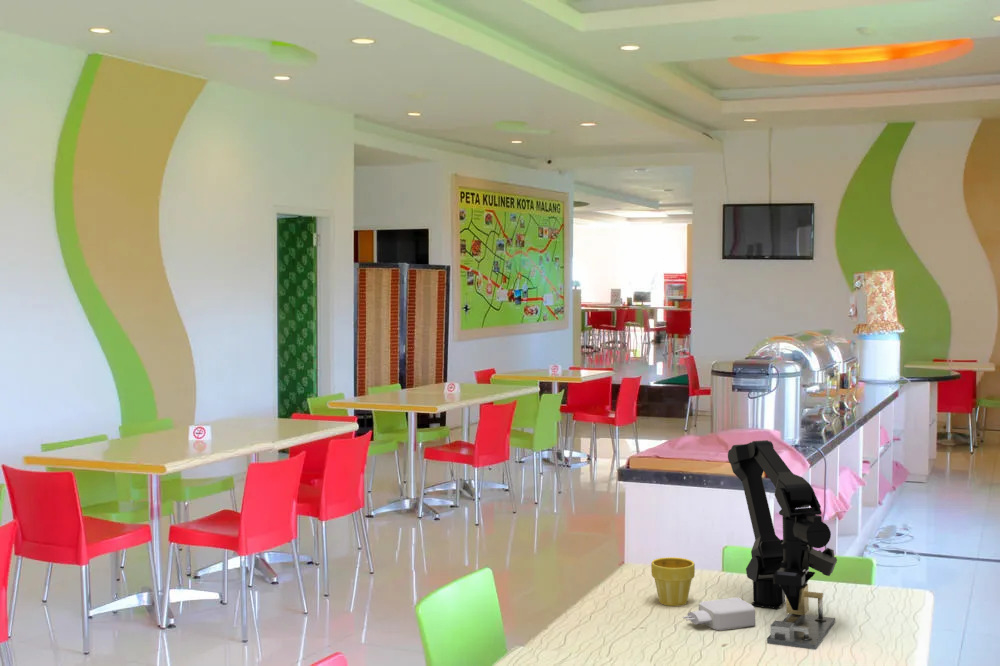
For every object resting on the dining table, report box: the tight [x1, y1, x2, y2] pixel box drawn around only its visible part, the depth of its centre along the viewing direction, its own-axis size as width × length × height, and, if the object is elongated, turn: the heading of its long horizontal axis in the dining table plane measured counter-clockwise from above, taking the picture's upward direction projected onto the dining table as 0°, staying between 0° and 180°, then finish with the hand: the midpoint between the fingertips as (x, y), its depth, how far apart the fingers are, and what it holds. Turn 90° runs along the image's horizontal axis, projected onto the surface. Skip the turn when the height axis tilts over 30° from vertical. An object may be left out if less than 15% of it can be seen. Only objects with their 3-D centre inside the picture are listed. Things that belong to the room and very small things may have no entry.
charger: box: [682, 597, 756, 632], centre depth 237 cm, size 5×9×15 cm
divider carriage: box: [785, 583, 824, 620], centre depth 236 cm, size 8×4×7 cm, turn 61°
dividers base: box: [766, 613, 836, 650], centre depth 229 cm, size 10×20×4 cm, turn 151°
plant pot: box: [650, 556, 696, 607], centre depth 255 cm, size 10×10×10 cm
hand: (797, 607), depth 237 cm, fingers closed on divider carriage, 4 cm apart
